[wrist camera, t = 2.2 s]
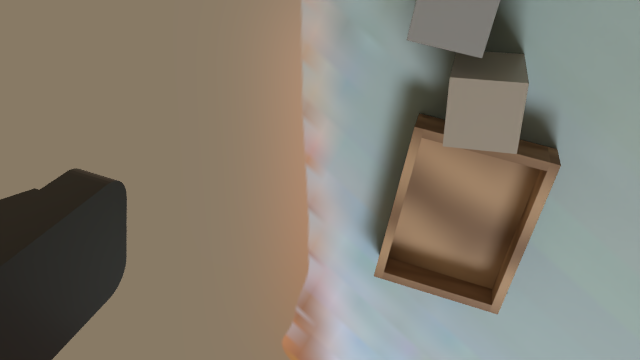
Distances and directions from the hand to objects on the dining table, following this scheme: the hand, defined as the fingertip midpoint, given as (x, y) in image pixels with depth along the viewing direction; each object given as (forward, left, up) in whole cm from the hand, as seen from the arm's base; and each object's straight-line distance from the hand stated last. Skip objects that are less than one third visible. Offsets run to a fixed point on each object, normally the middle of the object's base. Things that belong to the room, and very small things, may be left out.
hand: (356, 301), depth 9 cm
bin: (+14, +4, -30) cm, 33 cm away
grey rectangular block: (0, 0, -30) cm, 30 cm away
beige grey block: (+5, +3, -30) cm, 30 cm away
